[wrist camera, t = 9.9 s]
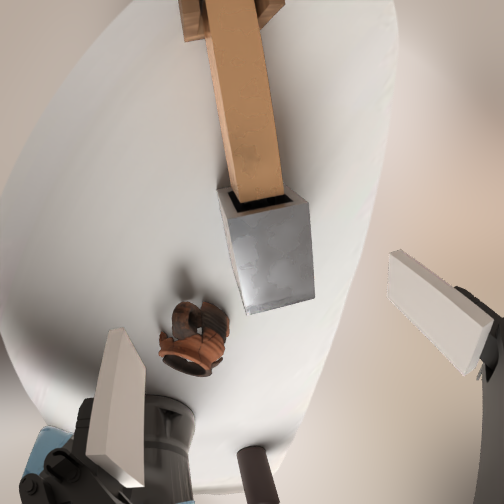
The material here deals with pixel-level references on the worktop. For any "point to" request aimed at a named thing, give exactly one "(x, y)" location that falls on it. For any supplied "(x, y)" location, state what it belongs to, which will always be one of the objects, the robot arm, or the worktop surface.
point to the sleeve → (269, 249)
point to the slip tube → (242, 98)
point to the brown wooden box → (265, 4)
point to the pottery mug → (195, 339)
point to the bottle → (257, 476)
